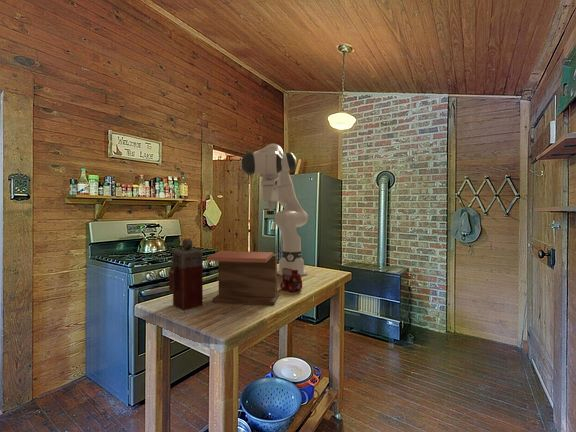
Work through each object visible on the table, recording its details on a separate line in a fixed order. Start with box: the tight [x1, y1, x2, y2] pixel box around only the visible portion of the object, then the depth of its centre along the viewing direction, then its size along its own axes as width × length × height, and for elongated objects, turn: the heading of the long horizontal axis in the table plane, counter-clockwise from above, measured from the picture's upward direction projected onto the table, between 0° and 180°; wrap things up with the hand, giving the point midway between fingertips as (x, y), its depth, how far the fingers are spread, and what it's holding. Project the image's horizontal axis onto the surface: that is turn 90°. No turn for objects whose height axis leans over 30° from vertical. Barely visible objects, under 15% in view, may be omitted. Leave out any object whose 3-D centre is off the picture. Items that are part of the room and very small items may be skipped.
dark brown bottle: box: [168, 238, 204, 311], centre depth 127 cm, size 9×11×28 cm
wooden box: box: [212, 253, 280, 306], centre depth 137 cm, size 14×27×20 cm, turn 82°
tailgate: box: [206, 250, 274, 263], centre depth 128 cm, size 2×24×15 cm
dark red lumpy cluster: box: [279, 268, 303, 293], centre depth 152 cm, size 7×12×10 cm, turn 47°
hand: (271, 210), depth 150 cm, fingers closed
